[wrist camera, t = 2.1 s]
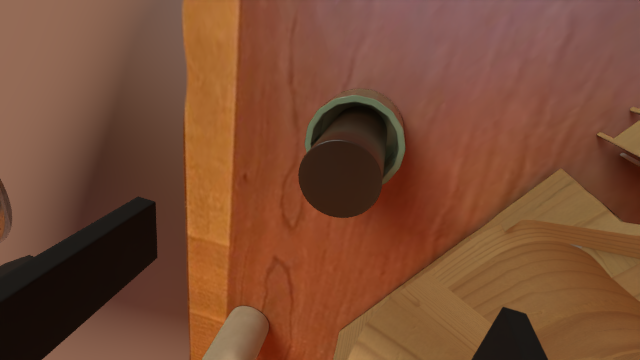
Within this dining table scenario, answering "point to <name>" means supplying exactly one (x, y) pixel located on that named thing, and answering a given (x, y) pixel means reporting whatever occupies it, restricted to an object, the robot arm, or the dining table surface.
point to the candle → (239, 336)
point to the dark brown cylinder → (346, 164)
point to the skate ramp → (521, 282)
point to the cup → (370, 100)
